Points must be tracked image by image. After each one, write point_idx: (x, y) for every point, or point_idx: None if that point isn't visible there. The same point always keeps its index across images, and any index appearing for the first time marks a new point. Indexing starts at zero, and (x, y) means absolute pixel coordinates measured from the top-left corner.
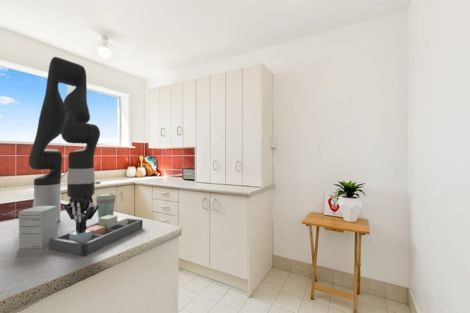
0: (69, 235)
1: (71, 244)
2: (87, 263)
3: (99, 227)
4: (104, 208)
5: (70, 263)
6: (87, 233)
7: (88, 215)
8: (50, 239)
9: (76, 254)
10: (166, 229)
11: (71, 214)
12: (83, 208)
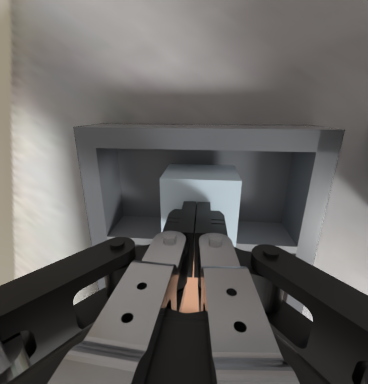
0: (238, 177)
1: (164, 127)
2: (31, 81)
3: None
4: None
5: (91, 57)
6: (163, 222)
7: (40, 272)
8: (333, 129)
9: (142, 124)
10: None
11: (285, 277)
12: (65, 348)
